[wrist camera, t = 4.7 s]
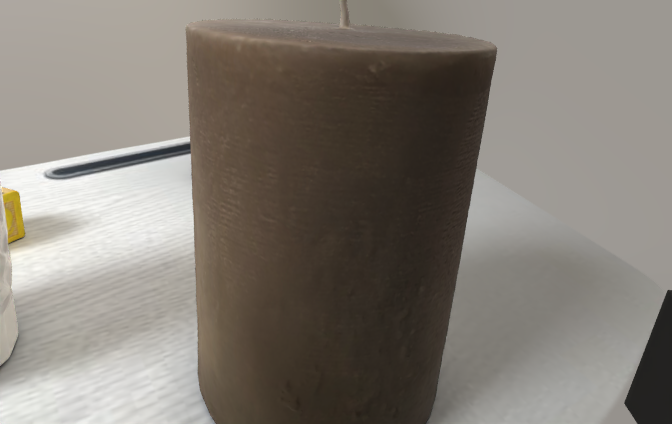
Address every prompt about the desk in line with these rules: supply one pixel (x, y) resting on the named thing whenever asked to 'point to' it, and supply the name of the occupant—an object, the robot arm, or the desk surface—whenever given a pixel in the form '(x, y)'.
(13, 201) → the alphabet block
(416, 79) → the pillar candle
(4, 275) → the white cup
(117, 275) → the desk surface
